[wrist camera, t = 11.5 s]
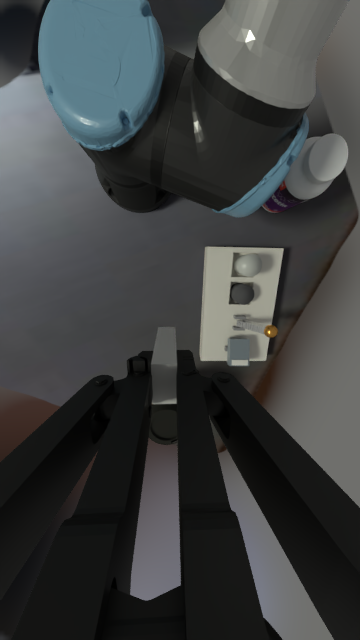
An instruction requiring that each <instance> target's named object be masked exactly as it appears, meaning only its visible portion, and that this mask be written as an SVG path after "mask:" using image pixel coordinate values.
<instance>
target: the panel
mask: <svg viewBox="0 0 360 640" xmlns="http://www.w3.org/2000/svg"><path fill="white" fill-rule="evenodd" d="M283 250H284V248H244V247H205V259H204V278H203V297H202V316H201V336H200V359H201V361H227V348H228V338H247V339H250V351H249V361H266V357H267V350H268V344H269V337H267V336H265V335H264V334H261V333H258V332H254V331H251V330H248V329H244V328H241V327H237V326H236V324H237V320H239V319H244V320H248V321H252V322H256V323H260V324H263V325H272V319H273V313H274V306H275V300H276V294H277V287H278V281H279V275H280V269H281V262H282V256H283ZM246 254H256V255H258V256H259V257H260V258H261V261H262V268H261V270H260V272H259V273H258V274H257V275H255V276H252V277H248V276H243V275H239V274H238V273H237V272H236V271H235V268H234V263H235V261H236V259H237V258H238V257H239V256H241V255H246ZM236 283H242V284H246V285H249V286H251V287H252V288H253V290H254V298H253V300H252V301H251V302H250V303H249V304H246V305H241V304H239V303H237V302H236V301H234V300H232V299H231V297H230V288H231V287H232V286H233V285H234V284H236Z"/></svg>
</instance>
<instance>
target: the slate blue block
mask: <svg viewBox="0 0 360 640" xmlns="http://www.w3.org/2000/svg"><path fill="white" fill-rule="evenodd" d="M249 351H250V339H247V338H228V348H227V364H228V365H229V366H249Z"/></svg>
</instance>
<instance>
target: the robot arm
mask: <svg viewBox="0 0 360 640" xmlns="http://www.w3.org/2000/svg"><path fill="white" fill-rule="evenodd" d="M348 2H349V0H226V1H225V4H224V6H223V8H222V10H221V11H220V12H219V13H218V14H217V15H216V16H215V17H214V18H213V19H211V20H210V21H209V22H208V23H207V24H206V25H205V26H204V27H203V28H202V30H201V31H200V34H199V37H198V43H197V48H196V53H195V58H194V59H191V58H189V57H187V56H185V55H183V54H181V53H179V52H177V51H175V50H173V49H171V48H169V47H167V46H165V45H164V44H163V39H162V34H161V30H160V28H159V25H158V23H157V21H156V19H155V18H154V16H153V15H152V12H151V8H150V5H149V2H148V1H147V0H50V2H49V4H48V6H47V8H46V11H45V14H44V17H43V20H42V23H41V28H40V34H39V44H38V55H39V67H40V73H41V77H42V81H43V85H44V88H45V91H46V94H47V96H48V99H49V101H50V103H51V104H52V106H53V108H54V110H55V112H56V113H57V115H58V116H59V118H60V119H61V121H62V123H63V126H64V127H65V129H66V130H67V132H68V133H69V134H70V135H71V136H72V138H73V139H75V140H76V141H77V143H79V145H80V146H81V147H82V148H83V150H84V151H85V152H86V153H87V155H88V156H89V157H90V158H91V159H92V161H93V162H94V163H95V169H96V173H97V176H98V179H99V181H100V183H101V185H102V187H103V189H104V190H105V192H106V193H107V194H108V196H109V197H110V198H111V199H112V200H113V201H114V202H115V203H116V204H118V205H119V206H120V207H122V208H124V209H126V210H128V211H131V212H137V213H144V212H149V211H152V210H155V209H156V208H158V207H160V206H161V205H162V204H163V203H164V202H165V201H166V200H167V199H168V197H169V196H170V194H171V193H174V194H176V195H179V196H181V197H184V198H186V199H189V200H191V201H194V202H196V203H199V204H201V205H204V206H206V207H209V208H211V209H212V210H213V211H214V212H216V213H225V214H227V215H230V216H233V217H246V216H248V215H250V214H252V213H254V212H255V211H256V210H258V209H259V208H260V207H261V206H262V205H263V204H264V203H265V202H266V201H267V200H268V199H269V198H270V197H271V196H272V195H273V194H274V192H275V191H276V190H277V189H278V187H279V186H280V185H281V183H282V182H283V181H284V179H285V178H286V176H287V175H288V173H289V171H290V166H291V164H292V163H293V162H294V161H295V160H296V159H297V158H298V156H299V154H300V152H301V150H302V148H303V146H304V143H305V141H306V138H307V135H308V131H309V120H308V118H307V115H306V113H305V111H306V110H307V108H308V107H309V105H310V103H311V102H312V100H313V98H314V96H315V89H316V62H317V58H318V56H319V54H320V52H321V50H322V49H323V47H324V45H325V43H326V41H327V40H328V38H329V36H330V34H331V32H332V31H333V29H334V27H335V25H336V24H337V21H338V20H339V18H340V16H341V14H342V13H343V11H344V9H345V7H346V6H347V4H348ZM127 369H128V375H127V377H126V378H124V379H121V380H117V381H114V380H113V377H112V376H109V375H100V376H97V377H94V378H93V379H91V380H90V381H89V382H88V383H87V384H86V385H84V386H83V387H82V388H81V389H80V390H79V391H78V392H77V393H76V394H75V395H73V396H72V397H71V398H70V399H69V400H68V401H67V402H66V403H65V404H64V405H63V406H61V407H60V408H59V409H58V410H57V411H56V412H55V413H54V414H53V415H52V416H51V417H49V418H48V419H47V420H46V421H45V422H44V423H43V424H42V425H41V426H39V427H38V428H37V429H36V430H35V431H34V432H33V433H32V434H31V435H30V436H29V437H27V438H26V439H25V440H24V441H23V442H22V443H21V444H20V445H19V446H18V447H17V448H15V449H14V450H13V451H12V452H11V453H10V454H9V455H8V456H7V457H5V458H4V459H3V460H2V461H1V462H0V600H1V599H2V597H3V595H4V594H5V593H6V591H7V589H8V588H9V587H10V585H11V584H12V582H13V580H14V579H15V577H16V576H17V574H18V573H19V571H20V570H21V568H22V566H23V565H24V564H25V562H26V560H27V559H28V557H29V556H30V554H31V552H32V551H33V549H34V548H35V546H36V545H37V543H38V542H39V540H40V539H41V537H42V536H43V534H44V533H45V531H46V530H47V528H48V527H49V525H50V523H51V522H52V520H53V519H54V517H55V516H56V514H57V513H58V511H59V510H60V508H61V507H62V505H63V503H64V502H65V500H66V499H67V497H68V496H69V494H70V493H71V491H72V490H73V488H74V487H75V485H76V484H77V482H78V480H79V479H80V477H81V476H82V474H83V473H84V471H85V470H86V468H87V467H88V465H89V463H90V462H91V460H92V459H93V457H94V456H95V454H96V453H97V451H98V453H97V455H96V458H95V461H94V463H93V466H92V468H91V471H90V474H89V476H88V479H87V481H86V484H85V486H84V489H83V492H82V494H81V497H80V499H79V502H78V505H77V508H76V510H75V512H74V514H73V516H72V517H71V518H69V519H66V520H65V521H64V522H63V523H62V525H61V526H60V528H59V530H58V532H57V534H56V536H55V538H54V541H53V542H52V545H51V547H50V550H49V552H48V554H47V557H46V559H45V562H44V564H43V566H42V569H41V571H40V574H39V576H38V578H37V580H36V583H35V585H34V588H33V590H32V592H31V595H30V597H29V599H28V602H27V604H26V607H25V609H24V611H23V614H22V616H21V618H20V621H19V623H18V625H17V628H16V631H15V633H14V635H13V637H12V640H282V638H281V637H280V636H279V634H278V633H277V632H276V631H275V630H274V628H272V626H271V625H270V624H269V623H268V622H267V620H266V619H265V618H263V615H262V611H261V607H260V603H259V599H258V595H257V591H256V587H255V583H254V579H253V575H252V571H251V567H250V563H249V559H248V555H247V552H246V547H245V543H244V540H243V536H242V532H241V528H240V525H239V521H238V518H237V516H236V513H235V512H234V511H232V510H231V508H230V505H229V501H228V496H227V493H226V488H225V484H224V479H223V475H222V471H221V466H220V462H219V458H218V453H217V449H216V445H215V440H214V436H213V432H212V427H211V423H210V419H211V421H212V423H213V425H214V427H215V428H216V430H217V432H218V434H219V435H220V437H221V439H222V441H223V443H224V444H225V446H226V448H227V450H228V452H229V453H230V455H231V457H232V459H233V461H234V462H235V464H236V466H237V468H238V470H239V471H240V473H241V475H242V477H243V479H244V480H245V482H246V484H247V486H248V488H249V489H250V491H251V493H252V495H253V496H254V498H255V500H256V502H257V503H258V505H259V507H260V509H261V511H262V513H263V514H264V516H265V518H266V520H267V522H268V523H269V525H270V527H271V529H272V531H273V532H274V534H275V536H276V538H277V540H278V541H279V543H280V545H281V547H282V549H283V550H284V552H285V554H286V556H287V558H288V559H289V561H290V563H291V564H292V566H293V568H294V570H295V572H296V574H297V575H298V577H299V579H300V581H301V583H302V584H303V586H304V588H305V590H306V592H307V593H308V595H309V597H310V599H311V601H312V602H313V604H314V606H315V608H316V609H317V611H318V613H319V615H320V617H321V618H322V620H323V622H324V623H325V625H326V627H327V628H328V630H329V632H330V633H331V635H332V637H333V638H334V640H360V508H359V506H358V505H356V504H355V502H354V501H352V499H351V498H350V497H349V496H348V495H347V494H346V493H345V492H344V491H343V490H342V489H341V488H340V487H339V486H338V485H337V484H336V483H335V482H334V481H333V479H332V478H331V477H330V476H329V475H328V474H327V473H326V472H325V471H324V470H323V469H322V468H321V467H320V466H319V465H318V464H317V463H316V462H315V461H314V460H313V459H312V458H311V457H310V455H309V454H307V452H306V451H305V450H304V449H303V448H302V447H301V446H300V445H299V444H298V443H297V442H296V441H295V440H294V439H293V438H292V437H291V436H290V435H289V434H288V433H287V432H286V431H285V429H284V428H283V427H282V426H281V425H280V424H279V423H278V422H277V421H276V420H275V419H274V418H273V417H272V416H271V415H270V414H269V413H268V412H267V411H266V410H265V409H264V408H263V407H262V406H261V405H260V404H259V402H258V401H257V400H256V399H255V398H254V397H253V396H252V395H251V394H250V393H249V392H248V391H247V390H246V389H245V388H244V387H243V386H242V385H241V384H240V383H239V382H238V381H237V380H236V378H235V377H233V376H232V375H231V374H228V373H224V372H218V373H215V374H214V375H212V378H207V377H203V376H201V375H199V372H198V370H196V367H195V362H194V358H193V353H192V352H191V351H190V350H176V332H175V327H158V332H157V337H156V342H155V347H154V351H142V352H141V353H139V354H138V356H134V357H131V358H130V359H128V360H127ZM152 403H153V404H177V447H178V483H179V484H178V485H179V522H180V523H179V524H180V562H181V586H178V587H177V588H174V589H172V590H170V591H168V592H166V593H164V594H162V595H160V596H158V597H156V598H154V599H152V600H148V601H145V600H141V599H139V598H136V597H134V596H131V595H130V583H131V570H132V562H133V554H134V545H135V538H136V531H137V523H138V515H139V508H140V499H141V492H142V484H143V477H144V468H145V461H146V453H147V445H148V438H149V430H150V423H151V415H152ZM209 416H210V419H209Z"/></svg>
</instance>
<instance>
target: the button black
mask: <svg viewBox="0 0 360 640" xmlns="http://www.w3.org/2000/svg"><path fill="white" fill-rule="evenodd" d="M230 297H231V299H232V300H234V301H236V302H237V303H239V304H241V305H246V304H249V303H250V302H251V301H252V300H253V298H254V290H253V288H252V287H251V286H249V285H246V284H242V283H236V284H234V285H233V286H232V287H231V288H230Z"/></svg>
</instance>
